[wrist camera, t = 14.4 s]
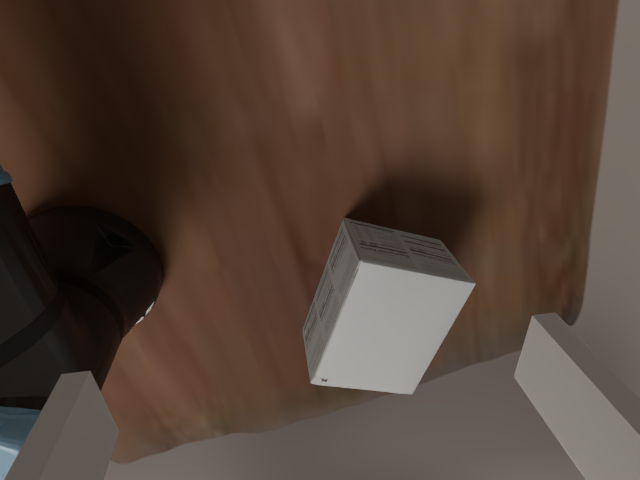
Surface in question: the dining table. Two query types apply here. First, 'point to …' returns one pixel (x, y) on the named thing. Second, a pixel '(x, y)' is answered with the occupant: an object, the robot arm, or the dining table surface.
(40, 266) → the robot arm
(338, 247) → the supplement box
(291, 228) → the dining table surface
